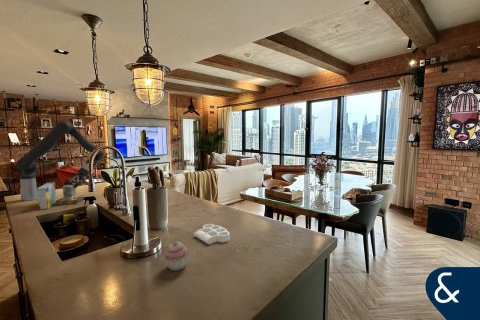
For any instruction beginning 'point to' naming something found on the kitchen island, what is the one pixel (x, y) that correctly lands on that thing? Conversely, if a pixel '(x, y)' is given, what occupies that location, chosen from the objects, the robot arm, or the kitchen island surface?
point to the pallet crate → (69, 192)
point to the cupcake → (176, 256)
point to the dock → (69, 201)
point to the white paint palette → (212, 234)
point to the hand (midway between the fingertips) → (71, 187)
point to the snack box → (46, 195)
